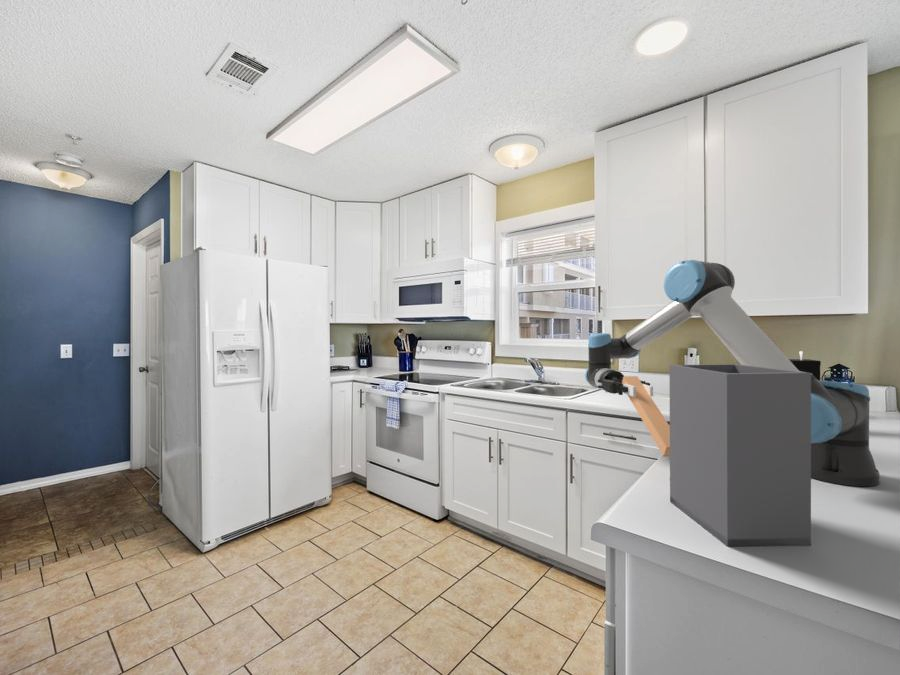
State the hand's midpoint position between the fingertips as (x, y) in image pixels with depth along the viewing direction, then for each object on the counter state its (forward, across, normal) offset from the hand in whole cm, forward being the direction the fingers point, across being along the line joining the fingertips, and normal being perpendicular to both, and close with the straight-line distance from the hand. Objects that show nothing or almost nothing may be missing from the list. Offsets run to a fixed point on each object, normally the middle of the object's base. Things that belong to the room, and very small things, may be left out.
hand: (643, 391), depth 113 cm
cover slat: (+3, 0, -6) cm, 7 cm away
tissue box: (-32, -71, -20) cm, 80 cm away
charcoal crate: (+36, 0, -19) cm, 41 cm away
